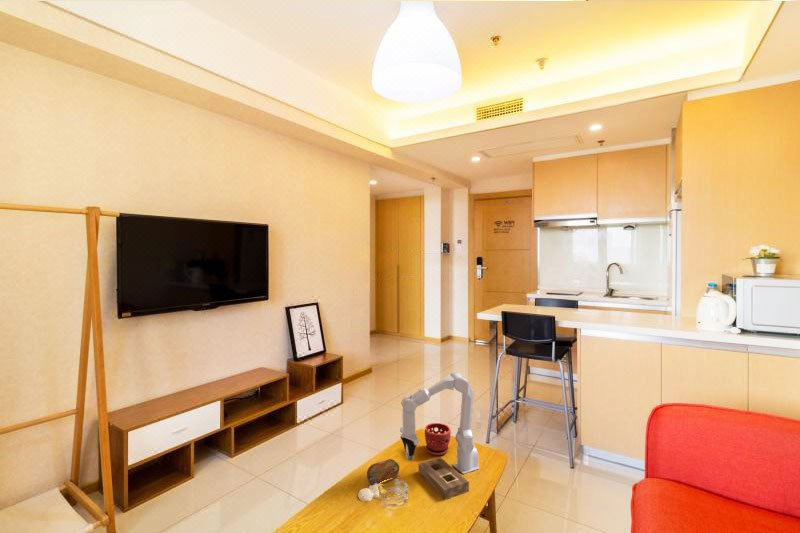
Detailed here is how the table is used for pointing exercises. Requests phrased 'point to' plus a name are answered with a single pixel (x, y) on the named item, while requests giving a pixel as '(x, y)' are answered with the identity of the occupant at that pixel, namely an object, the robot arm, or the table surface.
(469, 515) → the table surface
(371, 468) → the tin
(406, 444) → the pin
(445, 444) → the plant pot
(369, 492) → the astronaut figurine
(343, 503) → the table surface
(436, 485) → the bore block
